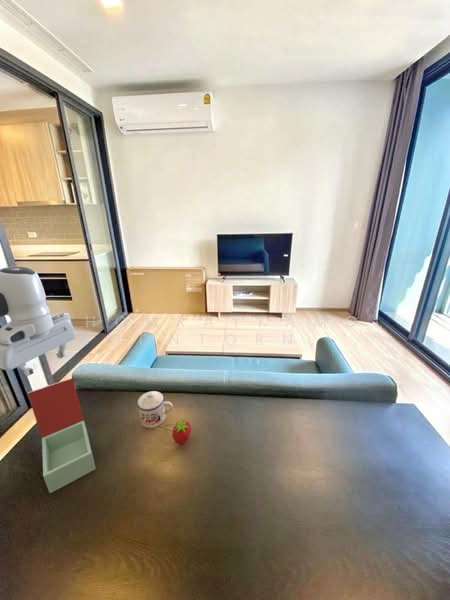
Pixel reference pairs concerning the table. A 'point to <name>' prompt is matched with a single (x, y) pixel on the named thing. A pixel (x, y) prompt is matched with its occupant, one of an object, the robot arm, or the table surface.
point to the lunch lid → (55, 406)
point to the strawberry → (181, 432)
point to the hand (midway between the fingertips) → (46, 365)
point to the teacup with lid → (152, 409)
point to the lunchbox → (66, 456)
